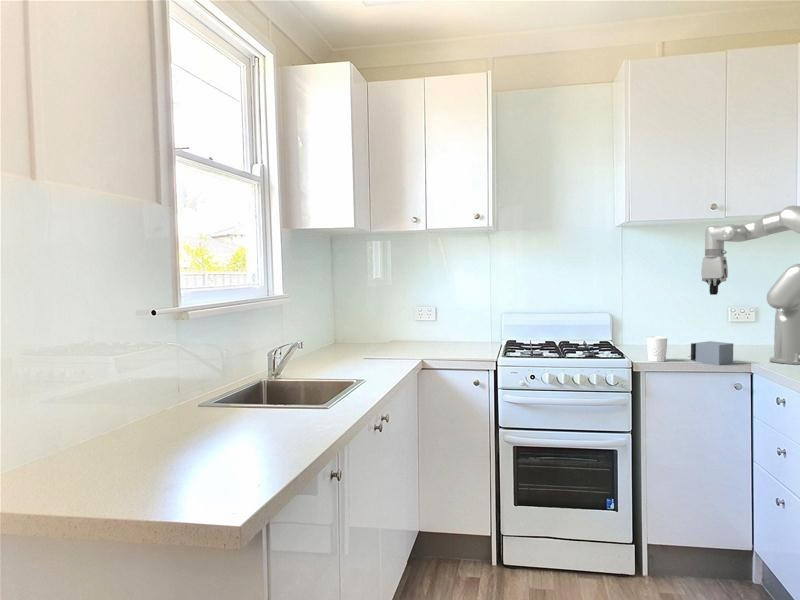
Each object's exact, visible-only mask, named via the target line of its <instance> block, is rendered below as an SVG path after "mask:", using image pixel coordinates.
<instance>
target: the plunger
mask: <svg viewBox="0 0 800 600" xmlns="http://www.w3.org/2000/svg"><path fill="white" fill-rule="evenodd" d="M696 343H697V342H692V343H690V355H691V357H690V361H696Z"/></svg>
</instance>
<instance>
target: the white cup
mask: <svg viewBox="0 0 800 600" xmlns="http://www.w3.org/2000/svg"><path fill="white" fill-rule="evenodd" d="M646 341H647V343H646V344H647V345H646V346H647V348H646V349H647V356H648V357H647V358H648V362H654V363H663V362H664V363H665V362H666V360H667V348H668V337H666V336H660V335H659V336H656V335H655V336H654V335H653V336H651V335H649V336H647V337H646Z"/></svg>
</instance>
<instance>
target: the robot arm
mask: <svg viewBox="0 0 800 600" xmlns="http://www.w3.org/2000/svg"><path fill="white" fill-rule="evenodd" d="M787 231H793V232H795V233H797V234H799V235H800V205H799V206H798V205H790V206H789V205H788V206H785V207H784V208H782V209H781V210H780V211H775V212H771V213H767V214H764V215H763V216H762V217H761V218H760V219H758V220H755V221H751V222H747V223H743V224H732V223H729V224H723V225H709V226H707V227H705V232H704V233H705V234H704V237H705V239H704V256H703V257H702V261H701V270H700V271H701V273H700V274H701V275H700V276H701V281H702V282H703V283H706V284H708V286H709V290H708V291H709V295H710V296H712V295H714V296H715V295H717V296H718V293H719V287H720V284H721V283H723V282H724V283H725V282H727V278H728V277H729V269H728V261H727V257H726V256H725V255H726V254H727V253H728V252H727V250H725V242H730V243H731V242H734V243H739V242H740V243H741V242H742V243H743V242H746V241H751V240H756V239H760V238H763V237H767V236H771V235H774V234H775V235H776V234H779V233H782V232H787ZM766 303H767V304H768V305H769V306H770V307H771V308H773V309H775V315H774V334H773V335H774V341H773V342H774V343H773V344H774V347H773V357H770V358H769V362H772V363H776V364H785V365H787V364H788V365H789V364H790V365H800V263H795V264H793V265H791V266H789V267H788V268H787V269H786V270H785V271H784V272H783V273H782V274H781V275H780V277H778V279H777V280H776V281H775V282H774V284H773V285H772V286H771V287H770V289H769V290H768V292H767V294H766Z"/></svg>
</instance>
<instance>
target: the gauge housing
mask: <svg viewBox="0 0 800 600" xmlns="http://www.w3.org/2000/svg"><path fill="white" fill-rule="evenodd" d="M695 343H696V360H695V363H701V364H707V365H708V364H709V365H713V366H714V365H715V366H722V365H729V364H733V363H734V343H731V342H720V341H713V340H712V341H711V340H708V341H701V342H695ZM687 356H691V354H687Z"/></svg>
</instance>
